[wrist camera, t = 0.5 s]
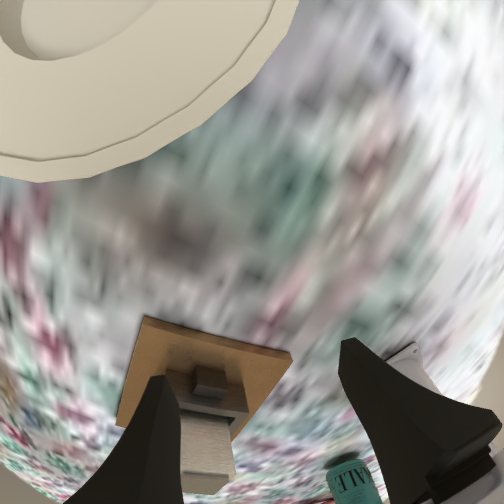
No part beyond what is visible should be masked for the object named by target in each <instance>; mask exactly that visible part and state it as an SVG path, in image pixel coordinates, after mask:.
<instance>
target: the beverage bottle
mask: <svg viewBox="0 0 504 504" xmlns="http://www.w3.org/2000/svg"><path fill="white" fill-rule="evenodd" d="M366 466H367V465H366V464H365V462H364V461H363V460H361V459H355V460H351V461H347V462H344V463H342V464H340V465H338V466H336V467H334V468H332V469H331V470H329V471H328V472H327V474H326V479H327V482H328V484H327V485H329V487H328V488H330V490H331V491H330V492H331V493H332V496H333V499H334V501H335V504H383V502H382V501H381V497H380V496H379V494H378V489H377V488H376V486H375V485H374V481H373V479H372V478H373V477H371V476H372V475H371V474H370V471H369V470H368V466H367V467H366Z"/></svg>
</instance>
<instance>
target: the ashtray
mask: <svg viewBox="0 0 504 504" xmlns="http://www.w3.org/2000/svg"><path fill="white" fill-rule="evenodd" d="M298 3H299V0H0V175H1V176H6V177H11V178H16V179H21V180H26V181H31V182H36V183H40V182H49V181H58V180H68V179H79V178H89V177H92V176H94V175H97V174H100V173H103V172H105V171H108V170H111V169H114V168H116V167H119V166H122V165H125V164H128V163H131V162H134V161H137V160H140V159H143V158H146V157H148V156H149V155H151V154H152V153H154V152H155V151H157V150H159V149H160V148H162V147H164V146H165V145H167V144H169V143H170V142H172V141H174V140H175V139H177V138H179V137H180V136H182V135H184V134H186V133H187V132H189V131H191V130H193V129H194V128H196V127H198V126H200V125H202V124H203V123H204V122H205V121H206V120H207V119H209V118H210V117H211V116H212V115H213V114H214V113H215V112H216V111H217V110H218V109H219V108H221V107H222V106H223V105H224V104H225V103H226V102H227V101H228V100H230V99H231V98H232V97H233V96H234V95H235V94H237V93H238V92H239V91H240V90H241V89H242V88H244V87H245V86H246V85H247V84H248V83H250V82H251V81H252V80H253V78H254V77H255V76H256V74H257V73H258V71H259V70H260V69H261V67H262V66H263V64H264V63H265V62H266V60H267V59H268V58H269V56H270V55H271V53H272V52H273V51H274V49H275V48H276V47H277V45H278V44H279V43H280V42H281V40H282V39H283V38H284V36H285V35H286V34H287V32H288V29H289V27H290V24H291V21H292V18H293V16H294V13H295V11H296V8H297V5H298Z"/></svg>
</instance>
